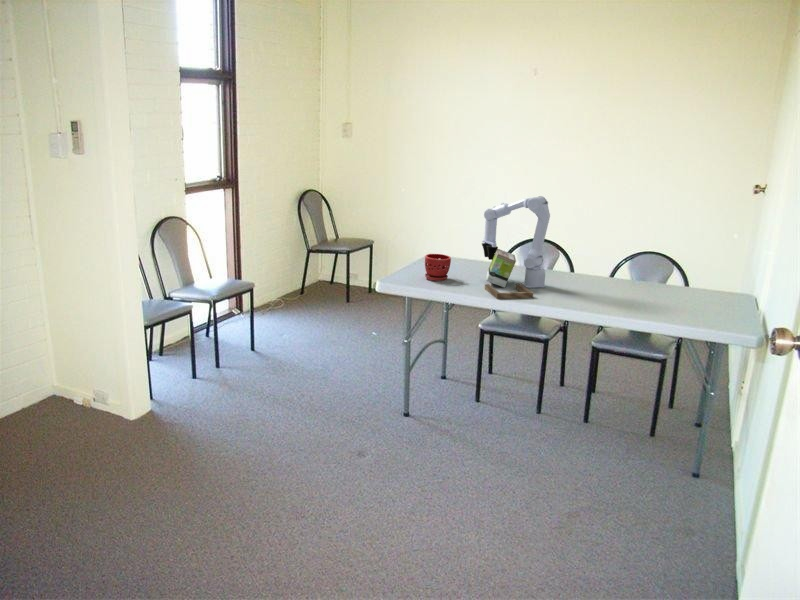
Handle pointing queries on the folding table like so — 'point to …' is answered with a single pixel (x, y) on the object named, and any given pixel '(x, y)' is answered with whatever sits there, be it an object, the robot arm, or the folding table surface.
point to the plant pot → (437, 266)
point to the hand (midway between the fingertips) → (488, 258)
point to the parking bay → (522, 294)
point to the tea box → (501, 267)
